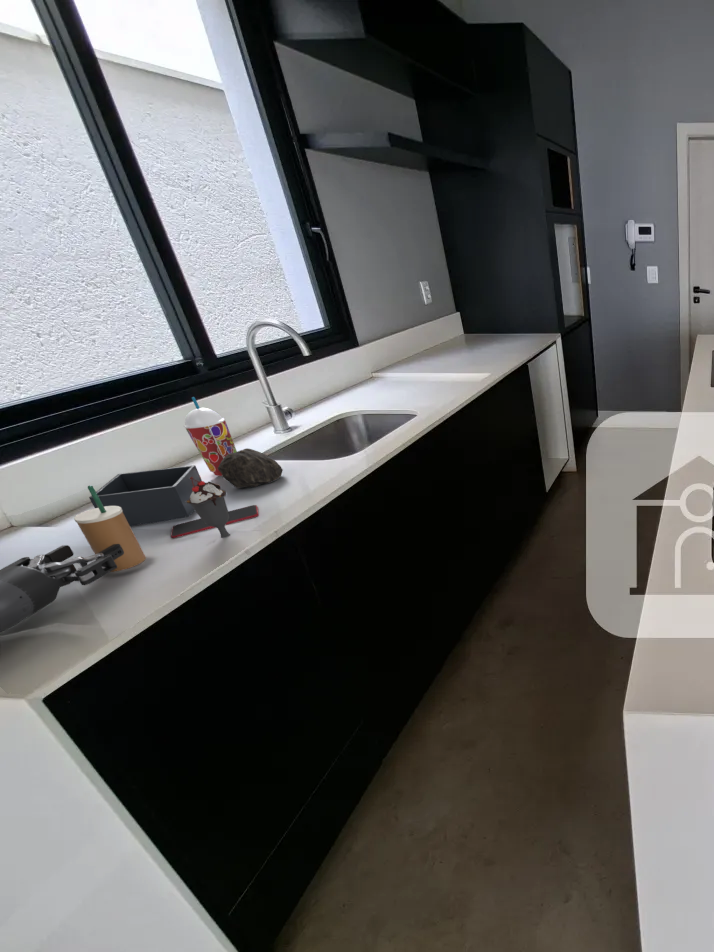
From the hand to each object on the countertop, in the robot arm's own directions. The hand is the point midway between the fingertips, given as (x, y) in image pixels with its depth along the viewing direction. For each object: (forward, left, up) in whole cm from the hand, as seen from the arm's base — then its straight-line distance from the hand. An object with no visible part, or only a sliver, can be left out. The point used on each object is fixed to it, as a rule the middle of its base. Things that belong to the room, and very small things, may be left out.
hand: (94, 549), depth 101 cm
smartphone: (+12, +17, -6) cm, 22 cm away
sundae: (+16, +7, -6) cm, 19 cm away
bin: (-2, +31, -6) cm, 32 cm away
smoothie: (+6, +53, -6) cm, 54 cm away
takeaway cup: (+1, +3, -6) cm, 7 cm away
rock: (+15, +40, -6) cm, 44 cm away
